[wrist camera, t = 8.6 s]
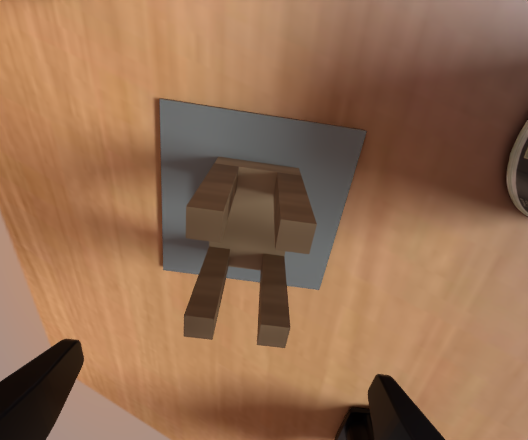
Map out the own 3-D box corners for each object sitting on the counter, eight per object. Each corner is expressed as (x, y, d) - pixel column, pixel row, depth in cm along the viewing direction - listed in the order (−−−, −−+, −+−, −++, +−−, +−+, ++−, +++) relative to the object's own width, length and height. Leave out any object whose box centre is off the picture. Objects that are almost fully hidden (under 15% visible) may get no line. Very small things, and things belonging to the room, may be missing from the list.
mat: (318, 286, 22) (319, 289, 22) (165, 266, 22) (163, 270, 21) (364, 130, 17) (366, 131, 16) (162, 98, 16) (159, 99, 16)
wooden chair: (218, 156, 17) (186, 206, 11) (299, 168, 17) (316, 224, 11) (211, 251, 20) (183, 336, 14) (280, 260, 21) (285, 348, 14)
